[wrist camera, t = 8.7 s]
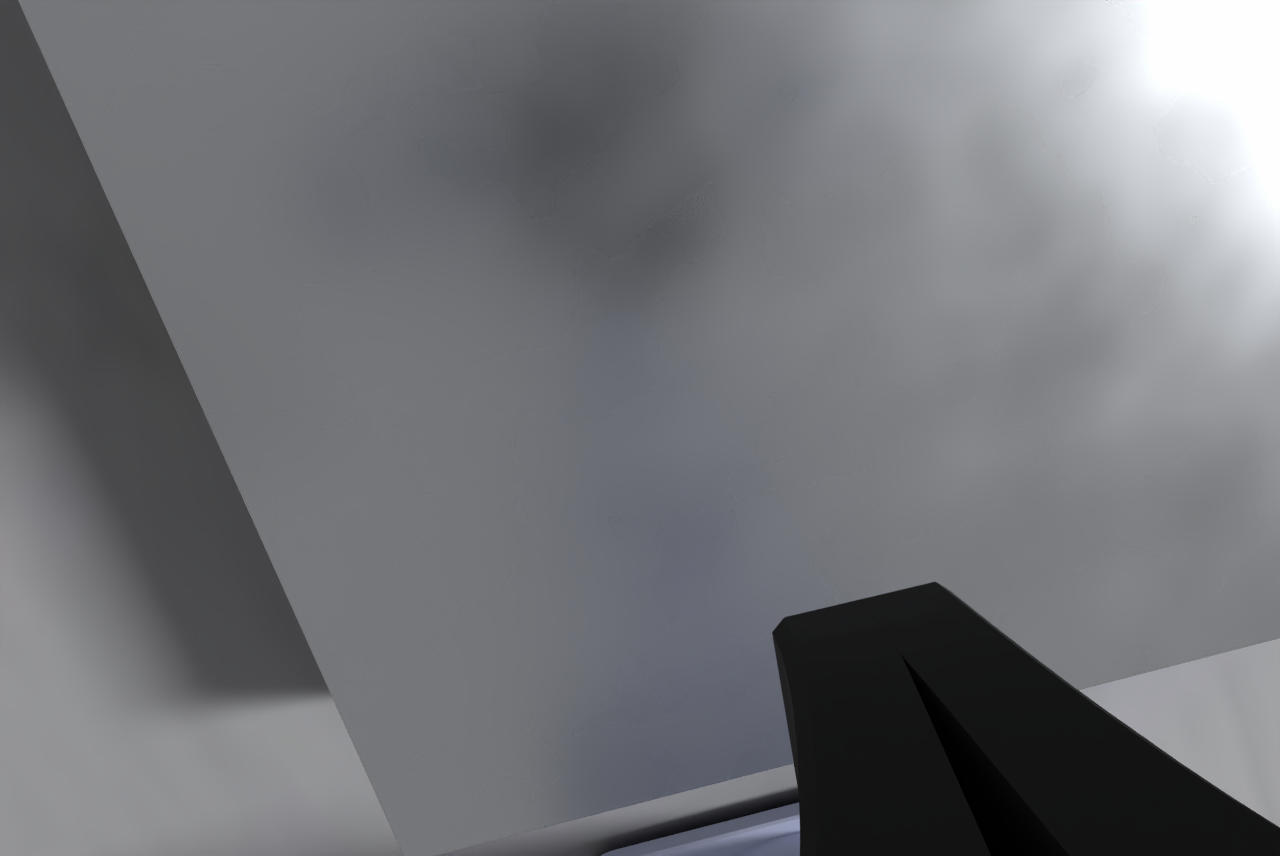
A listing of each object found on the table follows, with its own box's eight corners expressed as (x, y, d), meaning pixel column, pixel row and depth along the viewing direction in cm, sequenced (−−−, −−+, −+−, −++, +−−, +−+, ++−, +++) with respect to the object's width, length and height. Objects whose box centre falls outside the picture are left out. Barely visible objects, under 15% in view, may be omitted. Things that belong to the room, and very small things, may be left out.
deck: (1151, 502, 21) (1289, 635, 17) (418, 688, 21) (406, 862, 17) (1167, -846, 12) (1441, -1120, 9) (-82, -558, 12) (-308, -721, 9)
